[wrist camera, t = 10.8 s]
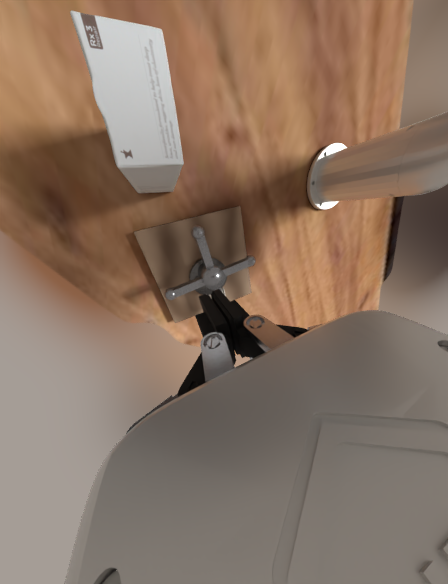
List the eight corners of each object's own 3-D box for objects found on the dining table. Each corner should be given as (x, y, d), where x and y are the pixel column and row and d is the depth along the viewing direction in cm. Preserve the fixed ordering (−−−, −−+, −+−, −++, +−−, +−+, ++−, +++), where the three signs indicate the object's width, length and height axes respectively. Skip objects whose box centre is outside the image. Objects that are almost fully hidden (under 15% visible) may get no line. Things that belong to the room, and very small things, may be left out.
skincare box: (173, 192, 27) (189, 171, 15) (135, 194, 26) (117, 172, 13) (160, 125, 24) (167, 24, 11) (114, 122, 22) (62, -2, 9)
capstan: (139, 241, 27) (136, 247, 22) (234, 209, 31) (250, 208, 25) (181, 320, 36) (185, 337, 31) (250, 288, 40) (264, 299, 35)
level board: (237, 206, 32) (241, 206, 31) (248, 290, 42) (252, 293, 41) (134, 231, 28) (133, 232, 26) (174, 319, 37) (175, 323, 36)
